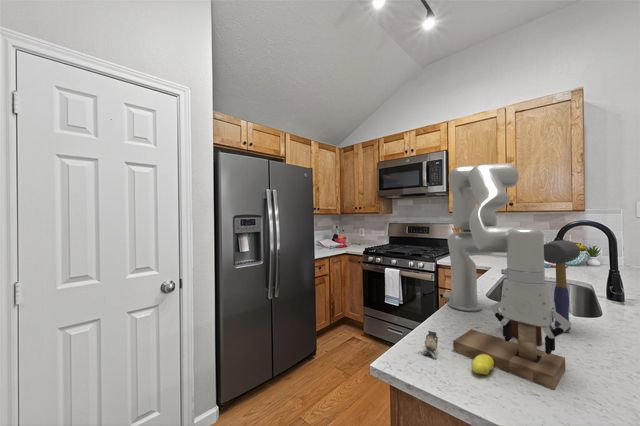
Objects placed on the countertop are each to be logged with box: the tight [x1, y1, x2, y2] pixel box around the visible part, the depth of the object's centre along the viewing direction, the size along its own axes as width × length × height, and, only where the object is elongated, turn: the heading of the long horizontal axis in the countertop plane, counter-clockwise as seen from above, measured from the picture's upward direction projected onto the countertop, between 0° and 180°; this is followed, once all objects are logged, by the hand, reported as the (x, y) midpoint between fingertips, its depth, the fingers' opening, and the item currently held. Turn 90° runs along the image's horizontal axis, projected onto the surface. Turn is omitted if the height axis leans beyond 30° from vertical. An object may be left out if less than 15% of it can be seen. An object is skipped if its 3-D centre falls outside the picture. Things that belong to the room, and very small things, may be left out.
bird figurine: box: [417, 330, 439, 360], centre depth 75 cm, size 5×5×6 cm
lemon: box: [471, 354, 494, 376], centre depth 66 cm, size 4×8×4 cm, turn 123°
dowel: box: [517, 322, 538, 363], centre depth 67 cm, size 4×4×11 cm
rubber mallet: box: [544, 239, 581, 333], centre depth 87 cm, size 12×8×30 cm, turn 119°
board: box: [452, 328, 566, 391], centre depth 71 cm, size 22×12×3 cm, turn 38°
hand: (527, 345), depth 67 cm, fingers open, 7 cm apart
